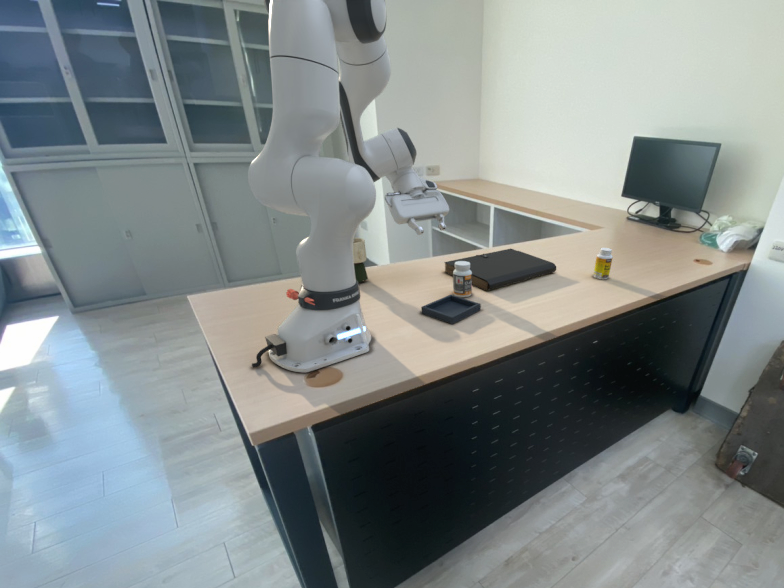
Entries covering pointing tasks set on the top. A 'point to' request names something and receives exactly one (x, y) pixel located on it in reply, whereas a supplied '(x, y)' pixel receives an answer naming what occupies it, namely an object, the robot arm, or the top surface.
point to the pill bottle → (462, 279)
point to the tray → (451, 309)
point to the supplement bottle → (603, 264)
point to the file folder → (503, 268)
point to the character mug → (359, 259)
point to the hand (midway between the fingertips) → (432, 231)
